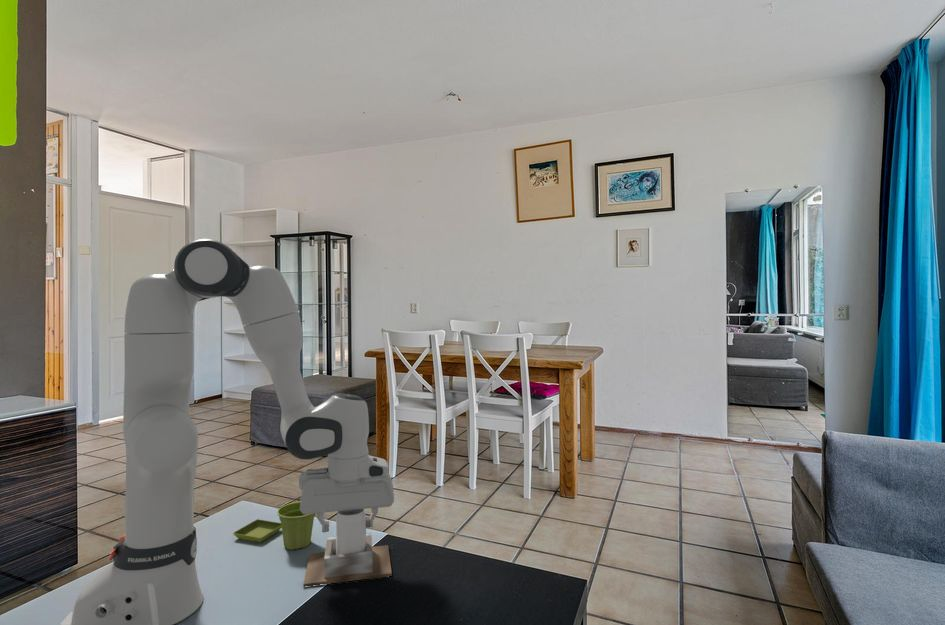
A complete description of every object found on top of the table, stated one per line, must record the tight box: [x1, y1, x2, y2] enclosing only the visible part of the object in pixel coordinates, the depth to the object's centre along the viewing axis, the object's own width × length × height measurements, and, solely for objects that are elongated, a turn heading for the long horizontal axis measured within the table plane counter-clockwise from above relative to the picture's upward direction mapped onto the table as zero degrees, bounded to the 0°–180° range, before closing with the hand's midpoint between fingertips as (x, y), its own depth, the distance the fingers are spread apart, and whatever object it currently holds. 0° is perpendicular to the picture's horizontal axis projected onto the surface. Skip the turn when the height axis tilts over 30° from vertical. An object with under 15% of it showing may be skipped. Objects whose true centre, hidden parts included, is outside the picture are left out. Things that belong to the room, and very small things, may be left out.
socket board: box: [302, 532, 393, 588], centre depth 109 cm, size 18×13×6 cm
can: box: [335, 509, 367, 555], centre depth 109 cm, size 6×6×12 cm
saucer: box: [232, 519, 282, 543], centre depth 124 cm, size 9×9×2 cm
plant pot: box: [276, 501, 317, 550], centre depth 119 cm, size 9×9×9 cm
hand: (347, 528), depth 109 cm, fingers open, 8 cm apart
